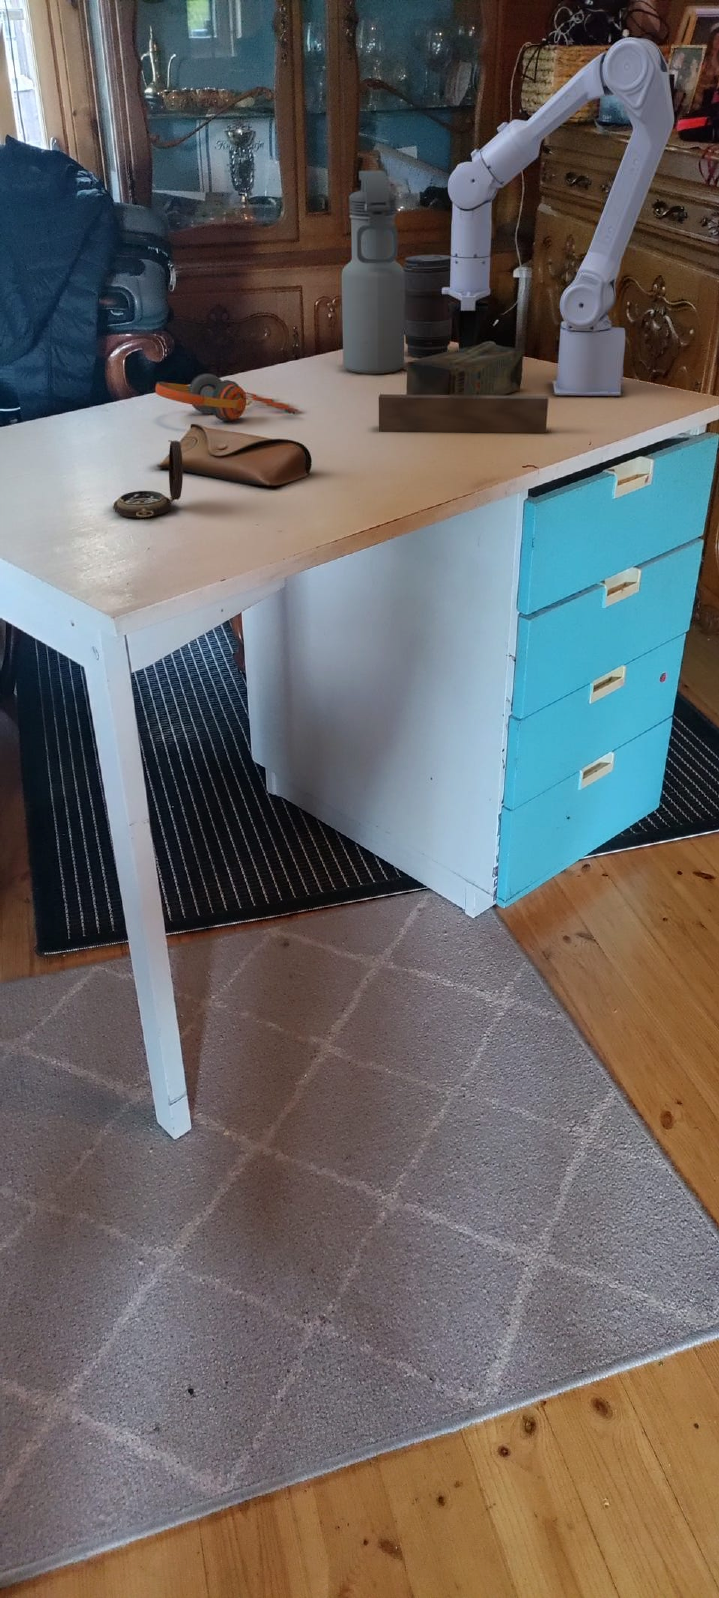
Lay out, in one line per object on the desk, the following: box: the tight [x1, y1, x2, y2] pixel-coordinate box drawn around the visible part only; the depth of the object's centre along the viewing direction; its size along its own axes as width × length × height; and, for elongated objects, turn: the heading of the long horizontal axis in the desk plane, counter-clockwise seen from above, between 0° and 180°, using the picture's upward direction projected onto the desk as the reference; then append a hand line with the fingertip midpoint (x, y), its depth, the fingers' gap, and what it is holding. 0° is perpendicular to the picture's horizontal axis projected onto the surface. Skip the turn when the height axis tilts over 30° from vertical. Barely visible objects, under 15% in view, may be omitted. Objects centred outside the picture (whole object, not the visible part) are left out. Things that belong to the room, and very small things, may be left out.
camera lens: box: [403, 254, 454, 358], centre depth 196 cm, size 8×8×15 cm
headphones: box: [155, 373, 299, 422], centre depth 165 cm, size 17×5×20 cm
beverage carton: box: [405, 340, 524, 396], centre depth 170 cm, size 8×19×7 cm, turn 140°
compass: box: [112, 439, 184, 518], centre depth 128 cm, size 8×8×7 cm
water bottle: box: [341, 169, 405, 375], centre depth 183 cm, size 10×10×28 cm
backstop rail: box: [378, 393, 549, 434], centre depth 156 cm, size 22×2×4 cm, turn 84°
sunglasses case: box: [156, 423, 313, 487], centre depth 142 cm, size 18×7×7 cm
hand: (467, 354), depth 179 cm, fingers closed
